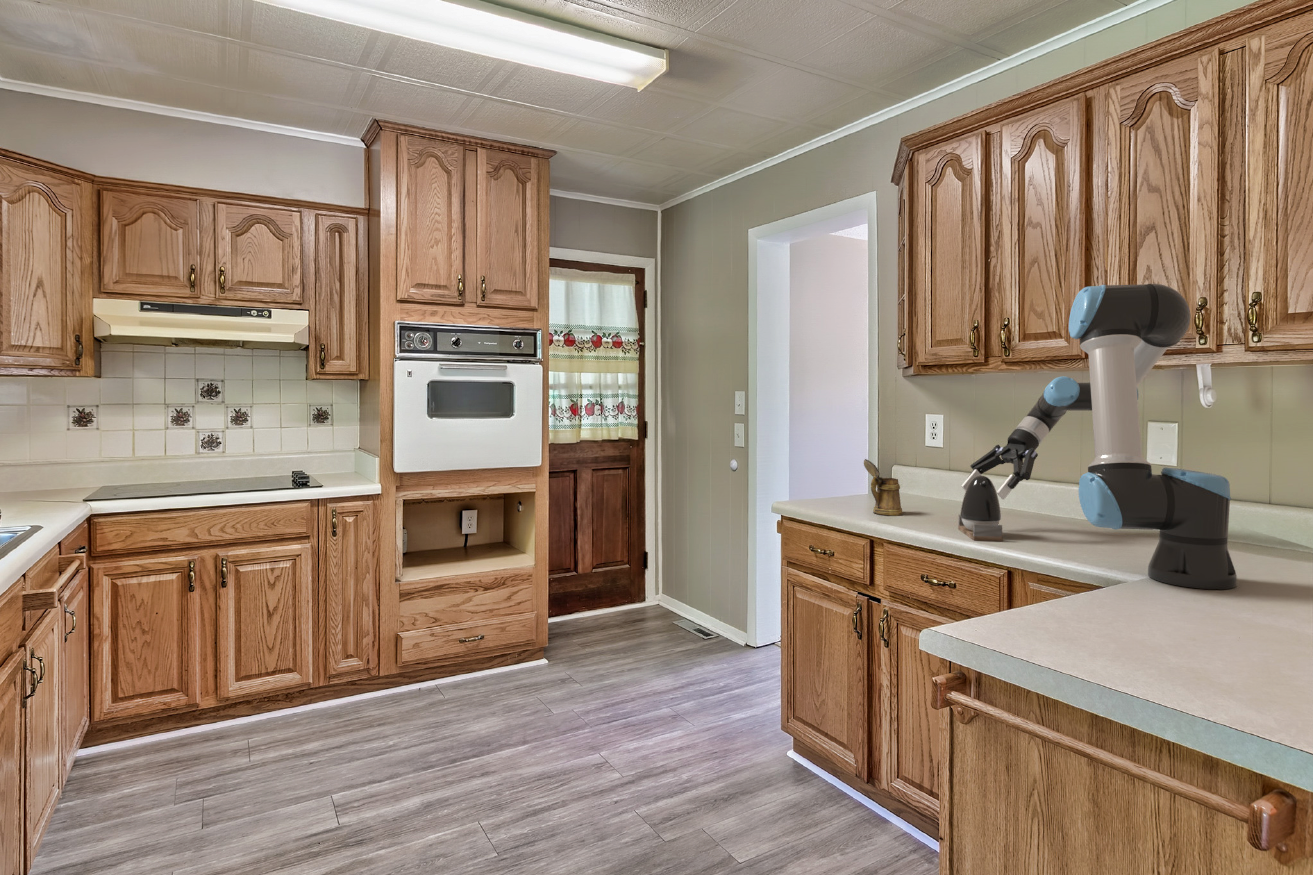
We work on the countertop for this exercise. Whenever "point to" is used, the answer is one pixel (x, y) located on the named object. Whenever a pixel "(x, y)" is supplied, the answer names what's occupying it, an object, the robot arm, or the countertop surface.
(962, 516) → the black egg roly-poly
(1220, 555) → the robot arm
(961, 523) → the walnut riser
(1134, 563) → the countertop surface
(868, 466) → the wooden mug
